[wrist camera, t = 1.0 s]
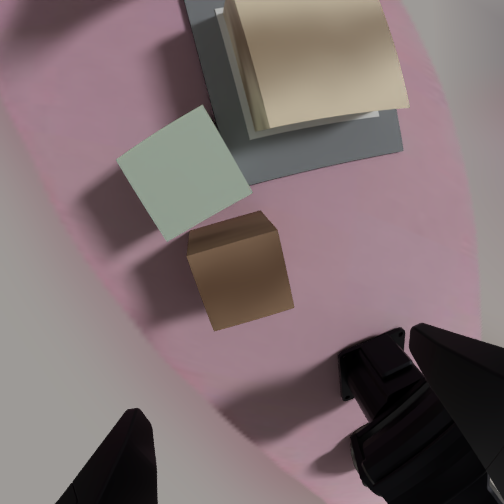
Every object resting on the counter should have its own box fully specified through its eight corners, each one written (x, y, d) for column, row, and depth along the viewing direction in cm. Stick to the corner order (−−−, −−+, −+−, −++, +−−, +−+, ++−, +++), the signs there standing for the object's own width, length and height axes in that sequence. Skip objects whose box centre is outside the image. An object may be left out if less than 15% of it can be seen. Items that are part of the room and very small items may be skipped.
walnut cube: (275, 274, 20) (294, 307, 16) (210, 293, 20) (214, 331, 16) (260, 210, 19) (277, 229, 15) (189, 230, 18) (186, 256, 14)
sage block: (245, 179, 18) (252, 192, 13) (179, 217, 18) (167, 242, 14) (207, 113, 16) (202, 104, 12) (140, 154, 16) (115, 159, 12)
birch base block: (373, 111, 17) (409, 107, 13) (255, 131, 17) (270, 128, 13) (342, 3, 14) (371, -19, 10) (222, 12, 14) (228, -18, 10)
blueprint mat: (401, 150, 19) (404, 150, 18) (233, 188, 18) (234, 189, 18) (352, -26, 14) (354, -28, 13) (180, -14, 13) (180, -16, 12)
